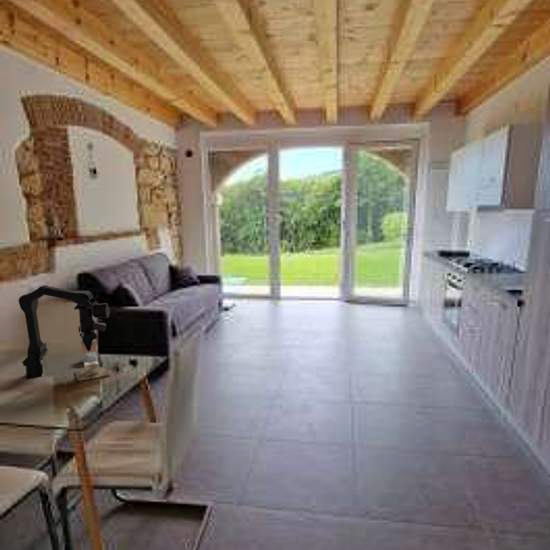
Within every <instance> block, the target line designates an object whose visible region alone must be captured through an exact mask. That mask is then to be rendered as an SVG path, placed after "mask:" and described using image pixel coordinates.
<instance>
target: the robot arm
mask: <svg viewBox="0 0 550 550" xmlns="http://www.w3.org/2000/svg"><path fill="white" fill-rule="evenodd" d="M44 296H49V297H54V298H59V299H63V300H69V301H71V302H73V303H75V304H76V306H75V307H74V308H73V310H78V315H79V317H78V318H79V319H78V322H79V326H78V327H77V332H78V333H79V334H78V335H79V336H80V338H81V341H83V343H84V345H85V347H86V349H87V350H88V351H90V350H91V344H92V341H93V340H97V339H98V335H97V333H96V332H95V331H101V332H105V331H106V328H107V324H106V323H105V322H103V320H102V319H104V318H108V319H109V317H110V316H111V315H110V312H111V310H110V307H109V304H108V303H107V302H104V303H99V302H98V301H97V300H96V298H95V297H94V295H93V293H92V292H91V291H89V290H69V289H64V288H59V287H55V286H50V285H47V284H44V285H41V286H39V287H38V288H36V289H34V290H33V291H31V292H28V293H25V294H23V295H20V297H19V298H18V305H19V307H20V310H21V311H22V312H23V314H24V317H25V322H26V323H25V324H26V329H27V335H28V337H27V338H28V342H29V343H28V347H27V355H26V356H27V357H25V359H23V360H22V361H21V364H22V365H23V367H25V378H26V379H31V378H37V377H42V376H43V374H44V369H43V368H44V367H43V363H42V360H43V359H44V357H46V355H47V351H48V347H47V342H44V343H43V341H42V340H41V339H42V338H41V334H40V326H39V321H38V313H37V311H38V306H39V300H40V299H41V298H42V297H44ZM94 318H96V319H97V318H98V320H97V321H95V320H94ZM99 318H100V319H99Z"/></svg>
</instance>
